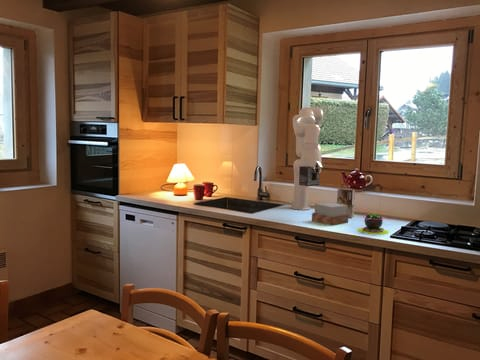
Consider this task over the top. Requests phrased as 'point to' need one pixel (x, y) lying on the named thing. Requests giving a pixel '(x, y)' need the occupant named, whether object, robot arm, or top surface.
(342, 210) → the tower top
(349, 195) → the coffee box
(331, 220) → the tower base
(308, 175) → the small box
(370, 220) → the toy cauldron
